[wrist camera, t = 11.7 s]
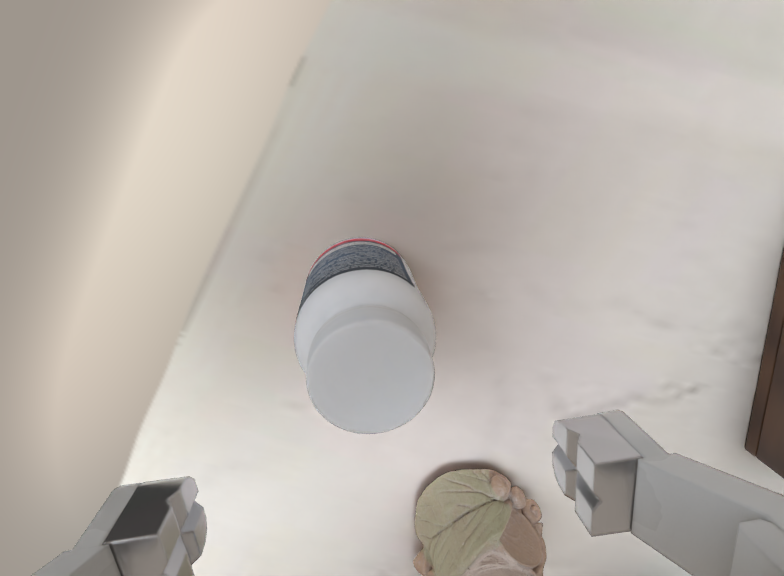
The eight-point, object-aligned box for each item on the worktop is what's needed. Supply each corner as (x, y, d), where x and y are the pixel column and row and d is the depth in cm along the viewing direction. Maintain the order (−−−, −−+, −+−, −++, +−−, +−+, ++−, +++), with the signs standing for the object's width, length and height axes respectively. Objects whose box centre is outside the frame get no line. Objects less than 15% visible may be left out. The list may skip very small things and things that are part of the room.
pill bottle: (285, 272, 21) (245, 357, 13) (377, 215, 21) (399, 263, 12) (344, 354, 23) (345, 477, 14) (431, 303, 22) (483, 399, 14)
